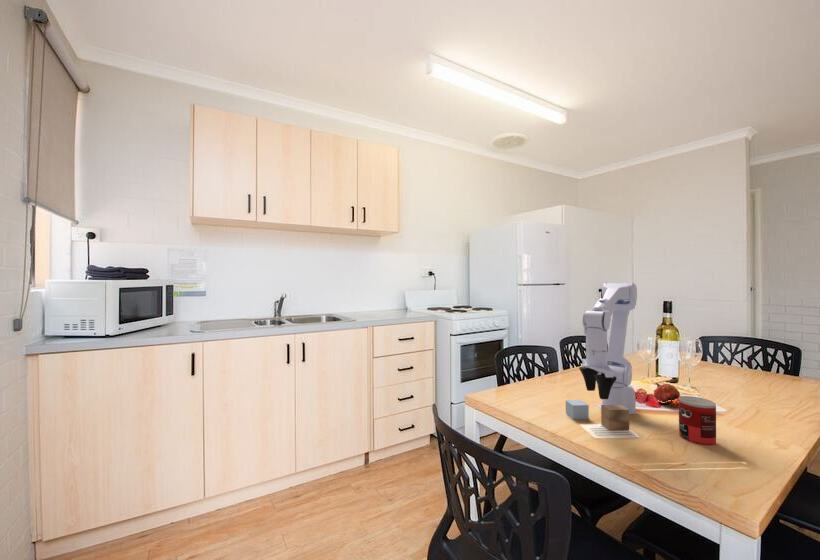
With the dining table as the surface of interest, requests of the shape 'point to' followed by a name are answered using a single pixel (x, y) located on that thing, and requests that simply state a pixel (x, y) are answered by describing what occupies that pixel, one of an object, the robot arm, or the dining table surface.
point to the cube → (577, 409)
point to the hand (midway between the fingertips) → (597, 394)
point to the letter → (607, 432)
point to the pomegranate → (666, 392)
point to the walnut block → (615, 417)
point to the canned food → (697, 420)
